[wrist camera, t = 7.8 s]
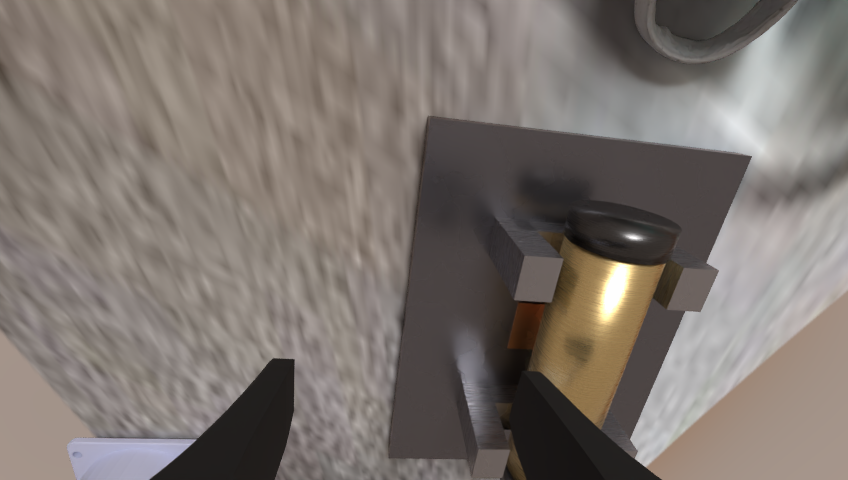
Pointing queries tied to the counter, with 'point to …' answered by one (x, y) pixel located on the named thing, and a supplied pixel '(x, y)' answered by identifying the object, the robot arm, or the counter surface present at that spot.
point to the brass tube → (598, 304)
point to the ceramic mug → (687, 51)
